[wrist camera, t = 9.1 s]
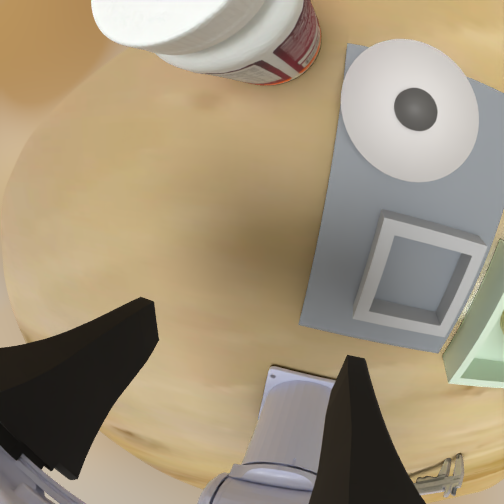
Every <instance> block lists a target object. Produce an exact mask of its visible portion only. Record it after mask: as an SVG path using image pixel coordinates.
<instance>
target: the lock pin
mask: <svg viewBox="0 0 504 504" xmlns="http://www.w3.org/2000/svg"><path fill="white" fill-rule="evenodd" d="M500 327H501V330H502V332H503V334H504V310H503V312H502V315H501V318H500Z"/></svg>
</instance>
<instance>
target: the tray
mask: <svg viewBox="0 0 504 504" xmlns="http://www.w3.org/2000/svg"><path fill="white" fill-rule="evenodd" d="M503 310H504V240H501V239H500V240H499V243H498V245H497V248H496V251H495V253H494V256H493V258H492V261H491V263H490V265H489V268H488V270H487V272H486V275H485V277H484V279H483V281H482V284H481V286H480V288H479V290H478V292H477V294H476V296H475V298H474V300H473V302H472V304H471V306H470V308H469V310H468V312H467V314H466V316H465V318H464V320H463V322H462V323H461V325H460V327H459V329H458V331H457V332H456V334H455V336H454V338H453V339H452V341H451V343H450V344H449V346H448V348H447V349H446V351H445V353H444V354H443V360H444V365H445V370H446V374H447V379H448V383H450V384H459V385H469V386H480V387H493V388H504V334H503V332H502V330H501V327H500V318H501V315H502V312H503Z"/></svg>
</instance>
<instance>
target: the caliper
mask: <svg viewBox="0 0 504 504" xmlns="http://www.w3.org/2000/svg"><path fill="white" fill-rule="evenodd" d="M450 467H451V459H450V458H447V459H445V461H444V463H443V466H442V468H441V470H440V472H439V474H438V476H437V477H431V476H426V477H423V478H421V477H418V478H417V481H416V483H413V484H414V485H415V487H416V489H417V490H418V492H419V494H420V495H425V494H432V493H438V492H444V491H445V492H444V496H443V497H446V498H447V497H448V496H449V494H450V493H451V495H453V496H455V494H456V490H457V488H460V487H461V485H462V480H463V476H464V462H463V456H461V455H460V454H457V458H456V463H455V468H454V473H453V476H450V477H448V475H449V471H450ZM445 488H446V489H445Z"/></svg>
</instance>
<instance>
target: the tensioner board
mask: <svg viewBox="0 0 504 504" xmlns="http://www.w3.org/2000/svg"><path fill="white" fill-rule="evenodd" d="M503 209H504V93H502V92H500V91H498V90H496V89H494V88H492V87H489V86H487V85H485V84H483V83H480V82H478V81H476V80H473V79H471V78H469V77H466V76H465V74H464V73H463V72H462V70H461V69H460V68H459V67H458V66H457V64H456V63H455V62H454V61H453V60H451V59H450V58H449V57H448V56H447V55H445V54H444V53H443V52H441V51H440V50H438V49H436V48H434V47H432V46H430V45H428V44H425V43H423V42H419V41H415V40H409V39H392V40H387V41H383V42H380V43H377V44H375V45H373V46H371V47H365V46H360V45H355V44H349V43H347V53H346V63H345V72H344V81H343V86H342V91H341V105H340V113H339V120H338V127H337V134H336V141H335V147H334V153H333V160H332V166H331V172H330V178H329V183H328V189H327V195H326V200H325V206H324V211H323V216H322V221H321V226H320V231H319V236H318V241H317V246H316V251H315V256H314V260H313V265H312V269H311V274H310V278H309V283H308V287H307V292H306V296H305V300H304V304H303V309H302V313H301V317H300V321H299V325H301V326H306V327H310V328H314V329H318V330H323V331H327V332H331V333H336V334H340V335H345V336H350V337H354V338H359V339H364V340H369V341H374V342H379V343H384V344H389V345H394V346H399V347H405V348H410V349H416V350H421V351H427V352H433V353H439V351H440V350H441V348H442V346H443V345H444V343H445V341H446V340H447V338H448V336H449V334H450V333H451V331H452V329H453V327H454V325H455V324H456V322H457V320H458V318H459V316H460V314H461V312H462V310H463V308H464V306H465V304H466V302H467V300H468V298H469V296H470V294H471V292H472V290H473V288H474V286H475V283H476V281H477V279H478V277H479V274H480V272H481V270H482V267H483V265H484V263H485V260H486V258H487V255H488V253H489V250H490V247H491V245H492V242H493V239H494V237H495V234H496V231H497V228H498V225H499V222H500V219H501V216H502V213H503Z"/></svg>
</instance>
